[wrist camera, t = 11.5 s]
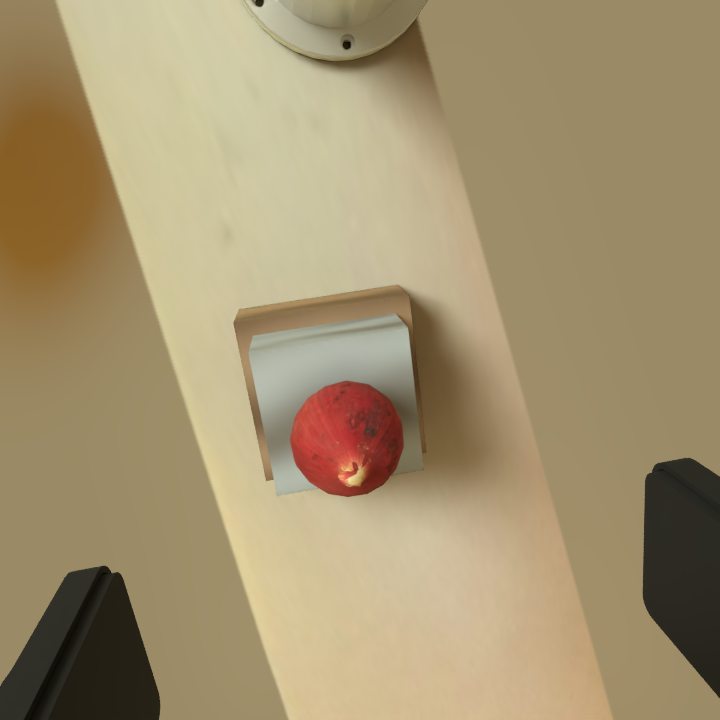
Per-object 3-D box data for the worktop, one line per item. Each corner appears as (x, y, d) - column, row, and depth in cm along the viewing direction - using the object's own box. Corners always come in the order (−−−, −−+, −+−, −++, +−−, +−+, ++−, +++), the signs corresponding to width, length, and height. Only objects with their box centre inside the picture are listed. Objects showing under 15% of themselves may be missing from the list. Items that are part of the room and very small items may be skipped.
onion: (329, 344, 32) (342, 393, 24) (410, 397, 33) (446, 460, 26) (271, 425, 33) (266, 496, 25) (352, 473, 34) (370, 555, 27)
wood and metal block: (239, 309, 38) (226, 339, 31) (397, 284, 39) (423, 307, 32) (268, 454, 42) (263, 513, 34) (414, 428, 43) (441, 481, 35)
